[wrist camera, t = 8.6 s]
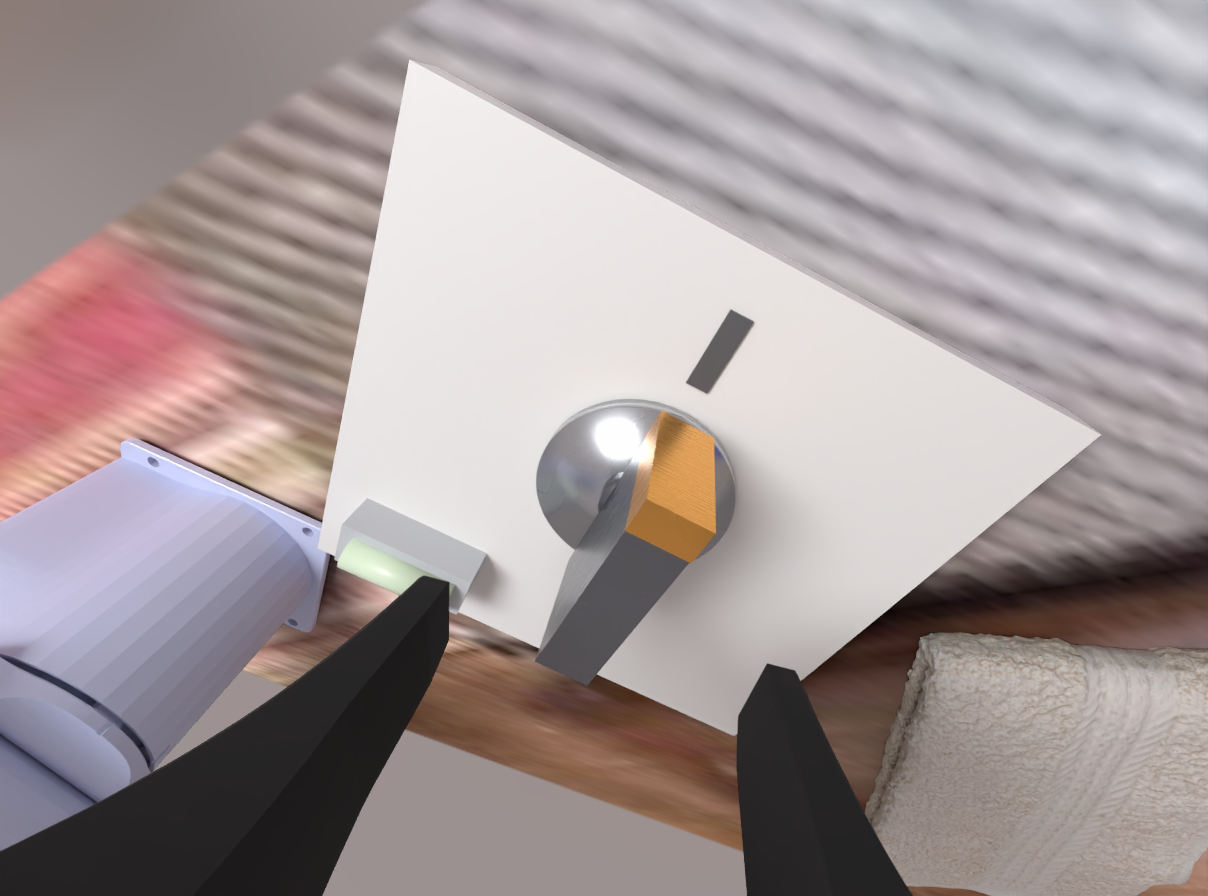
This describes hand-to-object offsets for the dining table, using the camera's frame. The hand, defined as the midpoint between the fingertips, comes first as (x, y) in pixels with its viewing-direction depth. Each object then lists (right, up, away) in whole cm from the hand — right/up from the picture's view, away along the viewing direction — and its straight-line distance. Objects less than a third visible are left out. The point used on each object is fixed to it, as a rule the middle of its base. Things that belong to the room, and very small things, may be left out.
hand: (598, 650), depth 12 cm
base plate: (+1, +3, +7) cm, 8 cm away
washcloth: (+19, -10, +12) cm, 25 cm away
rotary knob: (+1, +3, +6) cm, 7 cm away
